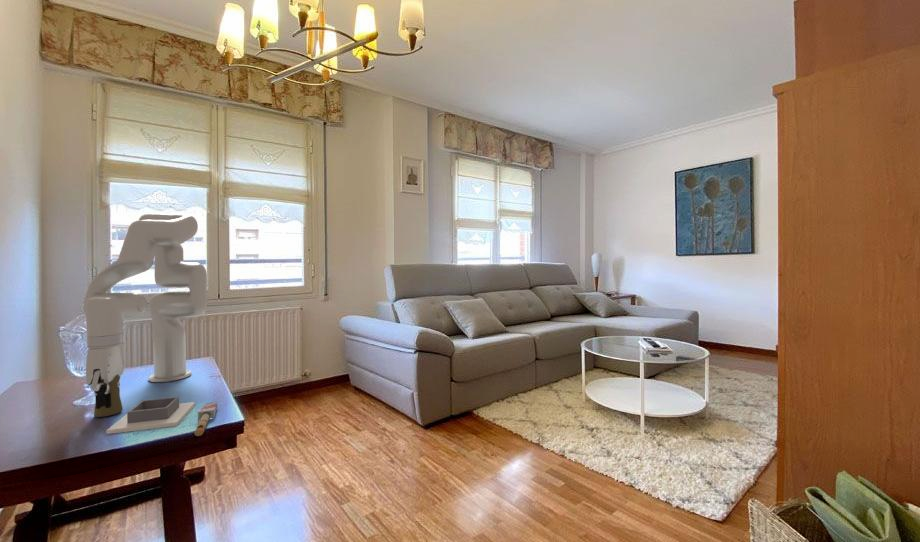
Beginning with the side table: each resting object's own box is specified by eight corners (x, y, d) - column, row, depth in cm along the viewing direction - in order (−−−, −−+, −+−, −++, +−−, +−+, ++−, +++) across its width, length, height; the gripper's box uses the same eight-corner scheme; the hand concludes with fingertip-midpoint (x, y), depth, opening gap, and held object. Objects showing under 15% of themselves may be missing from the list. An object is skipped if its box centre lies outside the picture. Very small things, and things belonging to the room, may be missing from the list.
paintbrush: (219, 396, 115) (207, 426, 97) (219, 405, 115) (207, 437, 97) (204, 398, 114) (188, 429, 95) (204, 407, 114) (188, 439, 96)
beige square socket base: (134, 411, 111) (133, 397, 111) (195, 405, 116) (194, 392, 116) (106, 434, 97) (106, 418, 97) (177, 425, 102) (177, 410, 102)
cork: (105, 417, 106) (103, 378, 105) (87, 415, 107) (86, 376, 107) (128, 408, 112) (126, 371, 111) (111, 407, 113) (110, 369, 113)
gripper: (104, 335, 115) (107, 395, 116) (70, 348, 99) (73, 418, 100) (135, 333, 118) (137, 392, 119) (106, 346, 102) (109, 414, 103)
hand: (108, 404), depth 109 cm, fingers closed on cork, 4 cm apart
